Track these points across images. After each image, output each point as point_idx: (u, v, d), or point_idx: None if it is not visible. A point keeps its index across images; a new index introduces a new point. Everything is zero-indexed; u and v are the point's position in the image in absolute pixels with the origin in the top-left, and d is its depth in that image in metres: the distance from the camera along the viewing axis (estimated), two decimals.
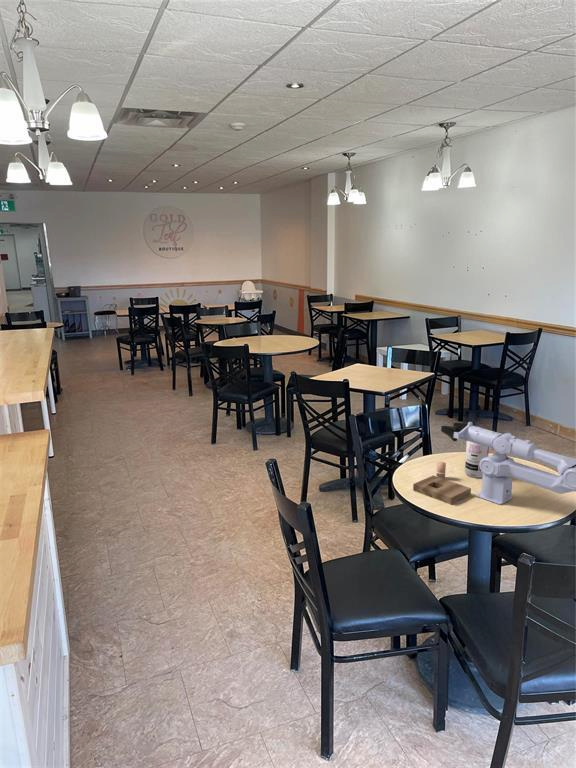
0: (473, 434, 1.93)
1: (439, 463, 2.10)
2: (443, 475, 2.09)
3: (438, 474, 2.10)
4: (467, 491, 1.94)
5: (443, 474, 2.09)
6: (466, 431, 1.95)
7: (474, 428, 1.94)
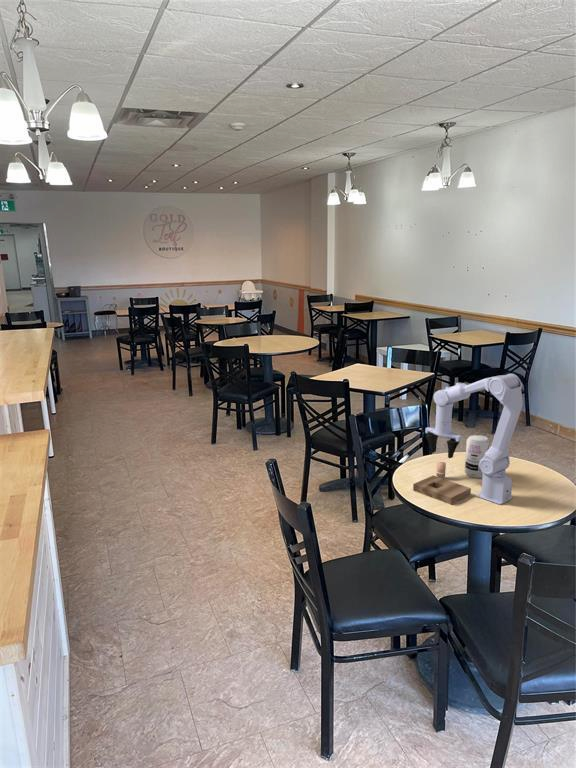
0: None
1: (439, 463, 2.10)
2: (443, 475, 2.09)
3: (438, 474, 2.10)
4: (467, 491, 1.94)
5: (443, 474, 2.09)
6: None
7: None
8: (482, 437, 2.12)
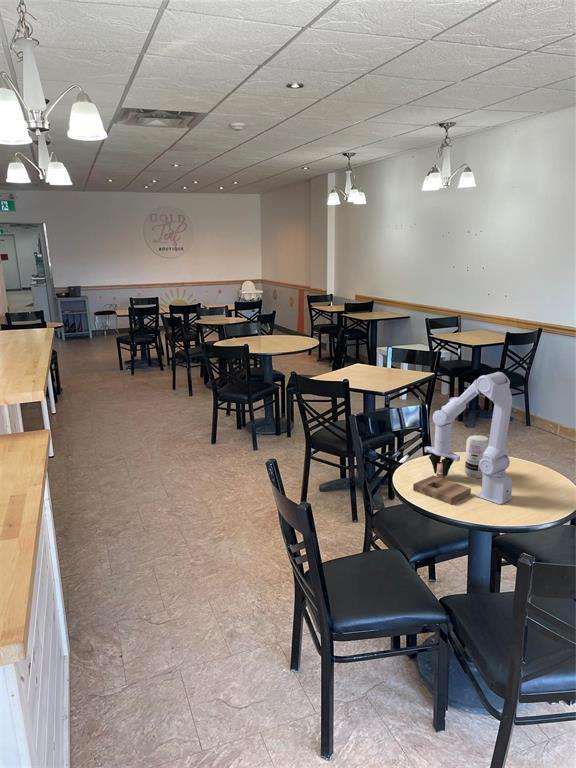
0: None
1: (439, 463, 2.10)
2: None
3: (438, 474, 2.10)
4: (467, 491, 1.94)
5: None
6: None
7: None
8: (482, 437, 2.12)
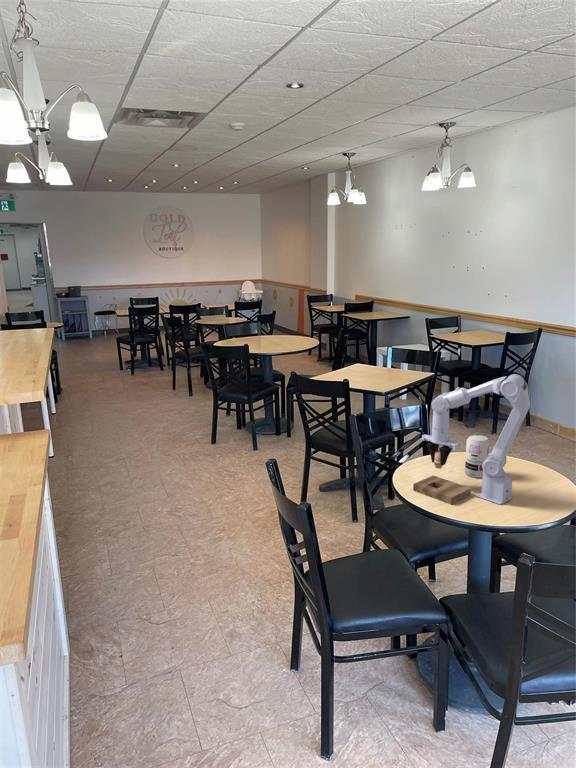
0: None
1: (437, 452, 2.01)
2: None
3: (436, 463, 2.01)
4: (467, 491, 1.94)
5: None
6: None
7: None
8: (482, 437, 2.12)
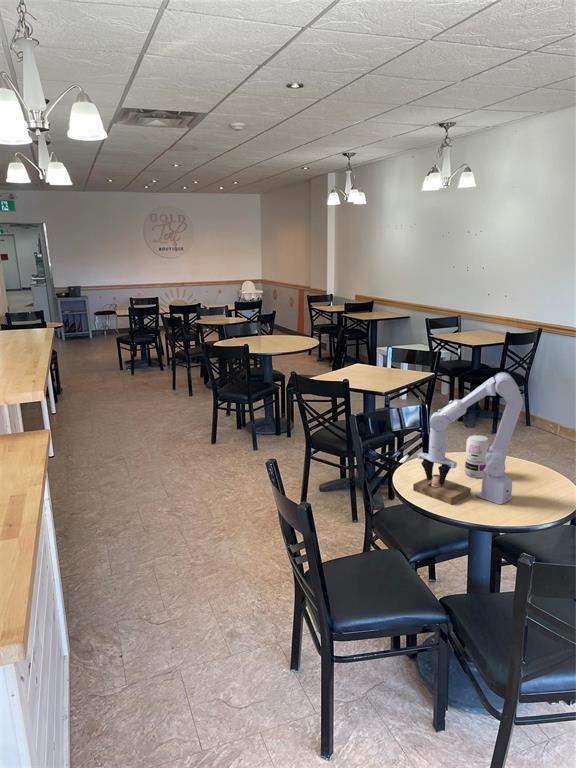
0: None
1: (435, 476, 1.97)
2: None
3: None
4: (467, 491, 1.94)
5: None
6: None
7: None
8: (482, 437, 2.12)
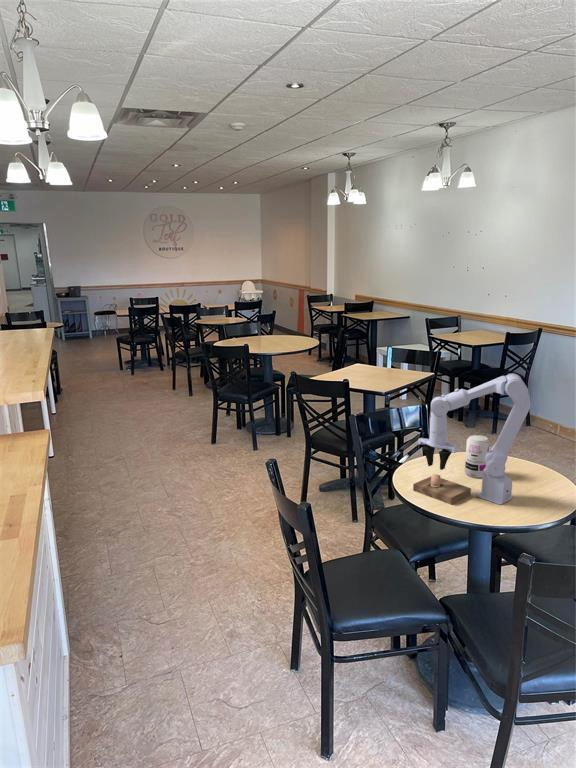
0: None
1: (433, 476, 1.98)
2: None
3: None
4: (467, 491, 1.94)
5: (438, 487, 1.97)
6: None
7: None
8: (482, 437, 2.12)
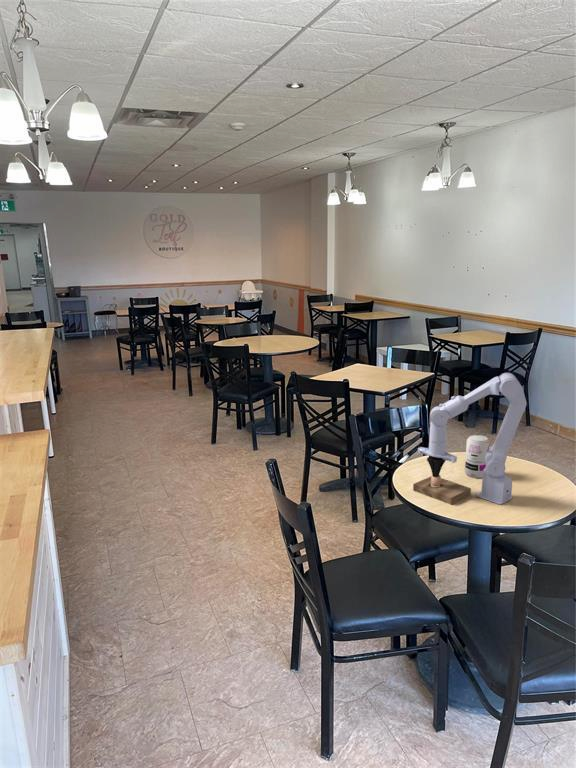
0: None
1: None
2: None
3: None
4: (467, 491, 1.94)
5: (438, 487, 1.97)
6: None
7: None
8: (482, 437, 2.12)
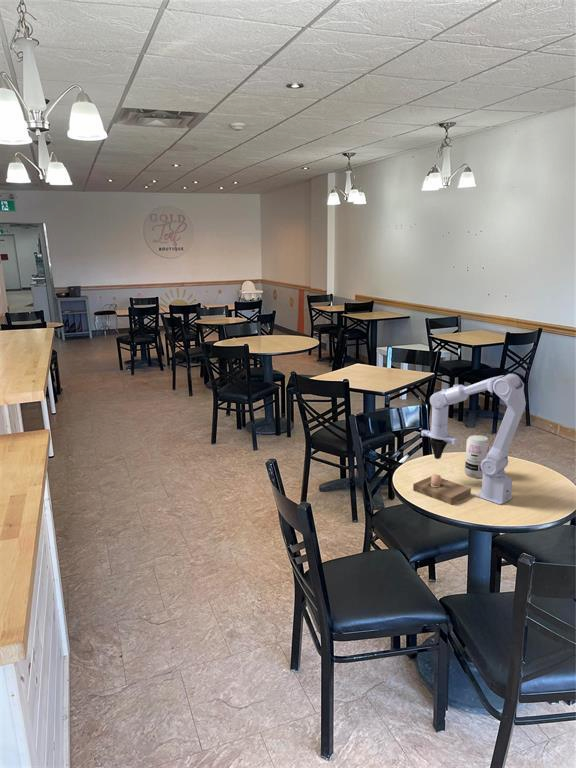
0: None
1: (434, 476, 1.98)
2: None
3: None
4: (467, 491, 1.94)
5: (438, 487, 1.97)
6: None
7: None
8: (482, 437, 2.12)
